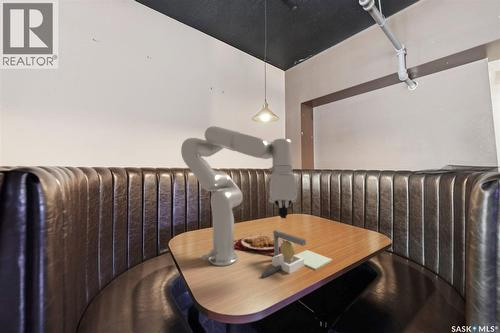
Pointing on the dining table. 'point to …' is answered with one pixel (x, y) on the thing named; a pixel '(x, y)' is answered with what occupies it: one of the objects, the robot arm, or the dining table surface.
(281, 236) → the silver metal bar
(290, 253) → the light bulb
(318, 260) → the mat
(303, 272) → the dining table surface
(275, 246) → the white handled box
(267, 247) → the plate with food
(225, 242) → the robot arm
